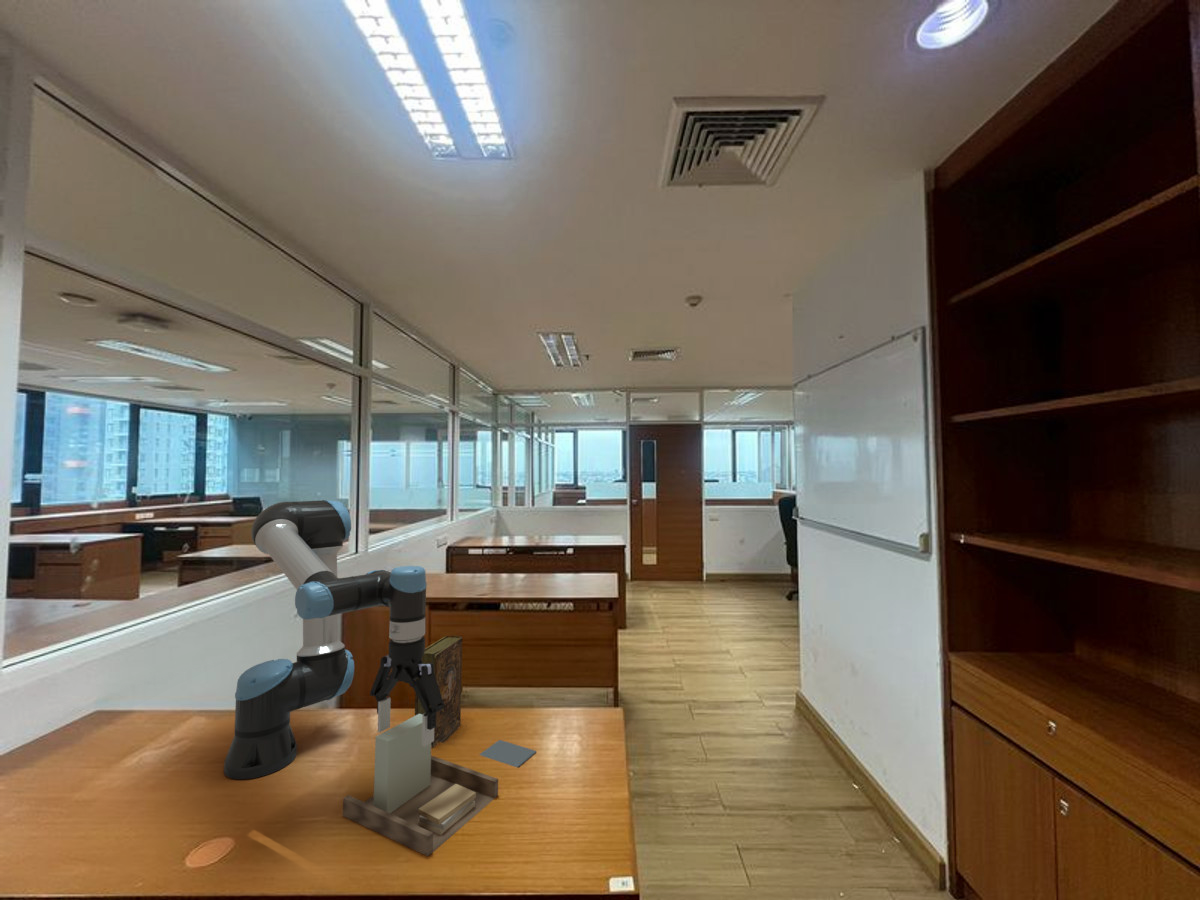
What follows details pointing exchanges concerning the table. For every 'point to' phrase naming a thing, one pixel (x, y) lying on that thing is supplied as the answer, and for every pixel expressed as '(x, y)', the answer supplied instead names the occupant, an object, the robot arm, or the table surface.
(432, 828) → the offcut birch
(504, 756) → the mat
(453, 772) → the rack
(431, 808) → the offcut oak
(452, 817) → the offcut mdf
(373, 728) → the table surface
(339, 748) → the table surface
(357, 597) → the robot arm
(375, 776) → the upright sage slab
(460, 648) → the book
